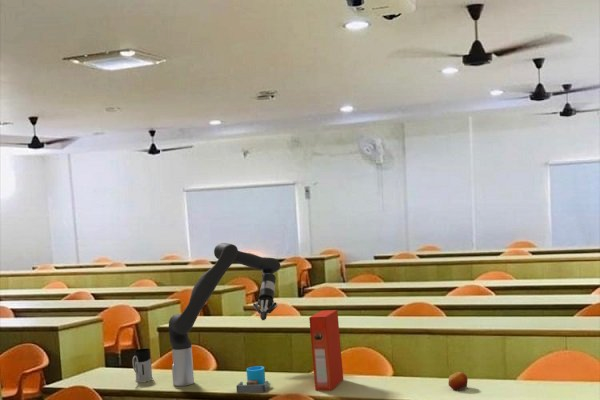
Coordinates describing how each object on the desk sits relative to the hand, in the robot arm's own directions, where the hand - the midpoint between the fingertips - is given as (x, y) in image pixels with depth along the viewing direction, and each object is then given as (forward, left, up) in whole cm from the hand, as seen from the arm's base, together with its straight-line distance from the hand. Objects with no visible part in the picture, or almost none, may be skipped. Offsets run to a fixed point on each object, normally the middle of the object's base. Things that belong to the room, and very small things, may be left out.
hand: (263, 319), depth 325 cm
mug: (+2, -25, -26) cm, 36 cm away
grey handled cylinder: (-61, -14, -26) cm, 68 cm away
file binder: (+36, -28, -26) cm, 53 cm away
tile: (+2, -33, -26) cm, 42 cm away
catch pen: (+2, -34, -26) cm, 43 cm away
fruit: (+92, -38, -26) cm, 103 cm away
